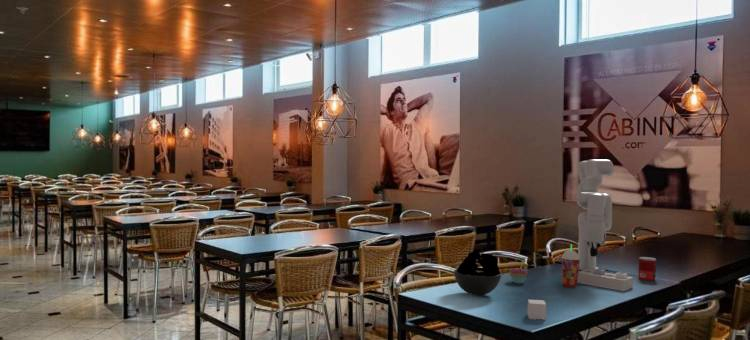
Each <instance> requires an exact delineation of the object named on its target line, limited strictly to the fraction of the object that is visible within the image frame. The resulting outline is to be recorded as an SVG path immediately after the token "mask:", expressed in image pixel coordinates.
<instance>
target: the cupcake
mask: <svg viewBox="0 0 750 340" xmlns="http://www.w3.org/2000/svg"><path fill="white" fill-rule="evenodd" d="M523 263H524V259H521V263H520V267H513V268H512V269H510V270H509V276H511V278H512V279H511V280H512V282H513V283H514V284H523V283H524V282H525V279H526V277H528V271H527V270H526V269H524V268H523Z"/></svg>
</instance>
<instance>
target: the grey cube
mask: <svg viewBox="0 0 750 340" xmlns="http://www.w3.org/2000/svg"><path fill="white" fill-rule="evenodd" d="M545 301H546V300H540V299H527V310H526V311H527V313H526V315H527V317H528V319H529V320H536V319H543V320H542V321H546V319H547V303H546V302H545Z"/></svg>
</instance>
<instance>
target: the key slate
mask: <svg viewBox="0 0 750 340" xmlns="http://www.w3.org/2000/svg"><path fill="white" fill-rule="evenodd" d="M605 273H606V269H601V268H599V269H594V270H593V274H597V275H604V274H605Z"/></svg>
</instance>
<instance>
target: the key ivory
mask: <svg viewBox="0 0 750 340" xmlns="http://www.w3.org/2000/svg"><path fill="white" fill-rule="evenodd" d="M615 274H616V277H615V278H621V279H626V278H627V276H628V273H626V272H620V271H618V272H616V273H615Z"/></svg>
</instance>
